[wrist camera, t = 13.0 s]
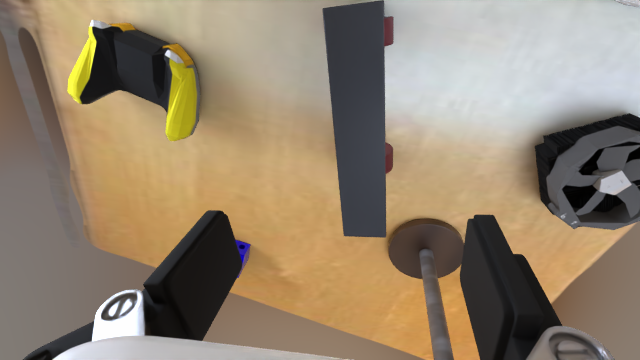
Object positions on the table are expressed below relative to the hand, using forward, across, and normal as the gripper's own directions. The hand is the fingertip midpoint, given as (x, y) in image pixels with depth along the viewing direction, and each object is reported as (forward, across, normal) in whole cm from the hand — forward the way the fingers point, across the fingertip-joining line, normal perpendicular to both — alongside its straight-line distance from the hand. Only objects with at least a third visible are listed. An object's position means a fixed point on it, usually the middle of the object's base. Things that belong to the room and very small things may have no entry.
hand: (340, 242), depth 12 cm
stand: (+25, -7, +23) cm, 35 cm away
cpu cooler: (+26, -23, +10) cm, 36 cm away
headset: (+25, 0, +1) cm, 25 cm away
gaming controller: (+25, +26, -4) cm, 37 cm away
